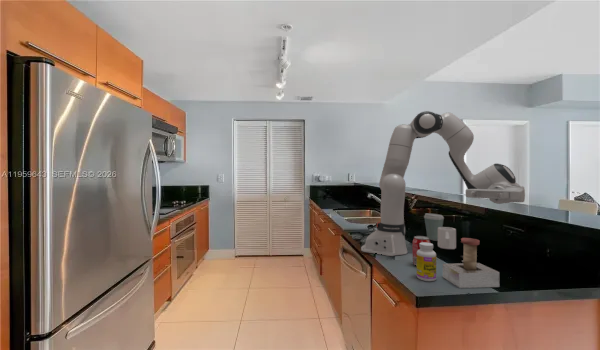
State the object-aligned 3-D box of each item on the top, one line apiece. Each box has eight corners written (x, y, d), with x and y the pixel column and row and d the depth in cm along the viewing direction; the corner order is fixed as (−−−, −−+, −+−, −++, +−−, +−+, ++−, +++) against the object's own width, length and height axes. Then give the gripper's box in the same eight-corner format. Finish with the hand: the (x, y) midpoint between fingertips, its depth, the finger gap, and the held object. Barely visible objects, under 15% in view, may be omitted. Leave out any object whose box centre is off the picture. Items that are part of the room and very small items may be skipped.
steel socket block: (459, 288, 93) (459, 273, 93) (442, 277, 103) (442, 263, 103) (499, 286, 94) (499, 272, 94) (479, 276, 104) (479, 262, 104)
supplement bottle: (422, 282, 98) (421, 246, 98) (413, 275, 105) (413, 241, 105) (440, 281, 99) (439, 245, 99) (430, 275, 105) (429, 241, 105)
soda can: (433, 265, 116) (433, 237, 116) (427, 269, 111) (426, 240, 111) (416, 262, 121) (416, 234, 121) (409, 265, 116) (409, 237, 116)
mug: (437, 244, 151) (437, 226, 151) (455, 246, 148) (455, 227, 148) (438, 250, 140) (438, 230, 140) (458, 251, 137) (457, 231, 137)
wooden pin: (461, 280, 97) (462, 240, 97) (459, 274, 102) (460, 237, 102) (480, 283, 95) (481, 242, 94) (477, 277, 100) (478, 238, 100)
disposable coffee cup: (437, 237, 168) (437, 212, 168) (448, 241, 158) (448, 215, 158) (420, 237, 168) (420, 213, 168) (430, 241, 157) (430, 215, 157)
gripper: (473, 185, 127) (458, 186, 119) (529, 186, 110) (515, 187, 102) (473, 199, 127) (458, 201, 119) (529, 202, 110) (516, 204, 102)
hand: (485, 194), depth 111 cm, fingers open, 8 cm apart
